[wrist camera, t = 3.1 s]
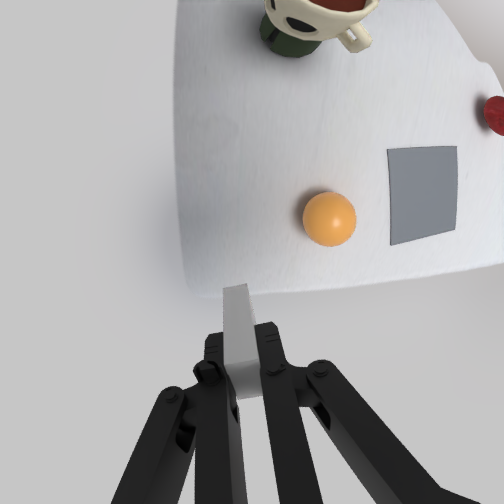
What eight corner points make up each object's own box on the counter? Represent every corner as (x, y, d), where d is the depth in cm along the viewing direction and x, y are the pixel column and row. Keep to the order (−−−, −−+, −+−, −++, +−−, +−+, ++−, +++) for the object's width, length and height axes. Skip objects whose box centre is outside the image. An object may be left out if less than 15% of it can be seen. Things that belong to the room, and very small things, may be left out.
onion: (480, 138, 27) (520, 146, 19) (469, 101, 24) (510, 103, 17) (497, 125, 26) (534, 133, 18) (486, 91, 24) (525, 93, 16)
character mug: (228, 15, 20) (231, -54, 8) (282, -13, 19) (314, -79, 7) (296, 88, 24) (348, 59, 12) (346, 57, 23) (416, 24, 11)
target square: (387, 149, 27) (388, 149, 27) (455, 146, 27) (456, 146, 27) (390, 245, 32) (391, 245, 32) (454, 229, 32) (455, 229, 32)
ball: (293, 191, 29) (307, 204, 24) (341, 183, 29) (364, 195, 24) (300, 239, 31) (314, 261, 26) (345, 230, 31) (366, 249, 26)
